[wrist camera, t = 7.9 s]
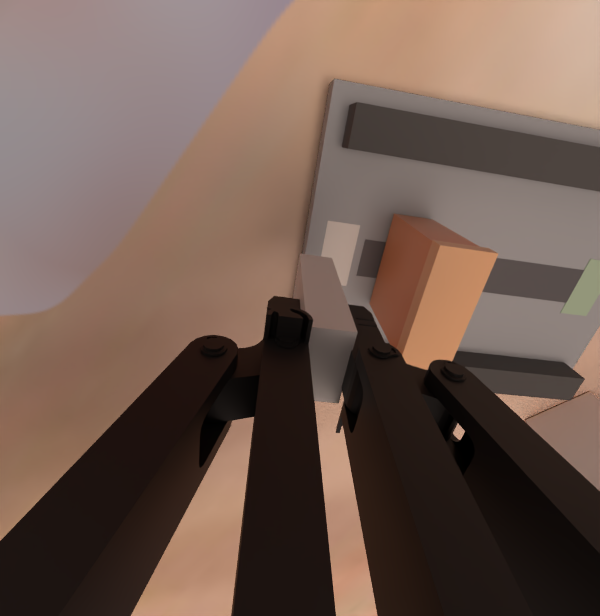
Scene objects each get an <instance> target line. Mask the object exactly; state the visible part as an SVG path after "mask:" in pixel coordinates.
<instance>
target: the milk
mask: <svg viewBox="0 0 600 616" xmlns="http://www.w3.org/2000/svg"><path fill="white" fill-rule="evenodd" d="M525 421H526V423H527V424H528V425H529V426H530V427H531V428H532V429H533V430H534V431H535V432H536V433H537V434H539V435H540V436H541V437H542V438H543V439H544V440H545V441H546V442H547V443H548V444H549V445H550V446H551V447H553V448H554V449H555V450H556V451H557V452H558V453H559V454H560V455H561V456H562V457H563V458H564V459H566V460H567V461H568V462H569V463H570V464H571V465H572V466H573V467H574V468H575V469H576V470H577V471H578V472H580V473H581V474H582V475H583V476H584V477H585V478H586V479H587V480H588V481H589V482H590V483H591V484H593V485H594V486H595V487H596V488H597V489H598V490H599V491H600V399H599V398H597V397H596V396H595V395H594V394H593V393H591V392H587V393H585V394H582V395H580V396H578V397H576V398H573V399H571V400H569V401H567V402H564V403H562V404H560V405H558V406H556V407H553V408H551V409H549V410H547V411H544V412H542V413H540V414H538V415H535V416H533V417H531V418H529V419H526V420H525Z"/></svg>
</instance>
